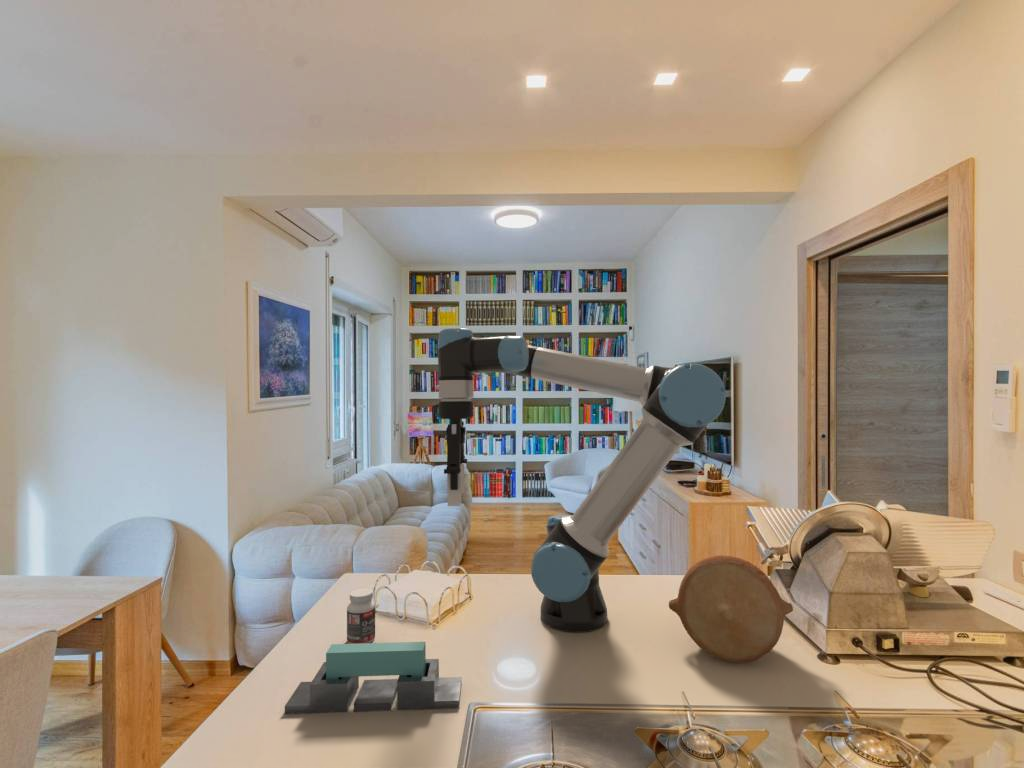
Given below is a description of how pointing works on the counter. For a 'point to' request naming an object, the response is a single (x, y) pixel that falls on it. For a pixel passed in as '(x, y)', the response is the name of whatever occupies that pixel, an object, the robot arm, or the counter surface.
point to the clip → (376, 660)
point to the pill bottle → (361, 617)
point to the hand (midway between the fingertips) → (456, 498)
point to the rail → (376, 693)
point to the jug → (730, 608)
